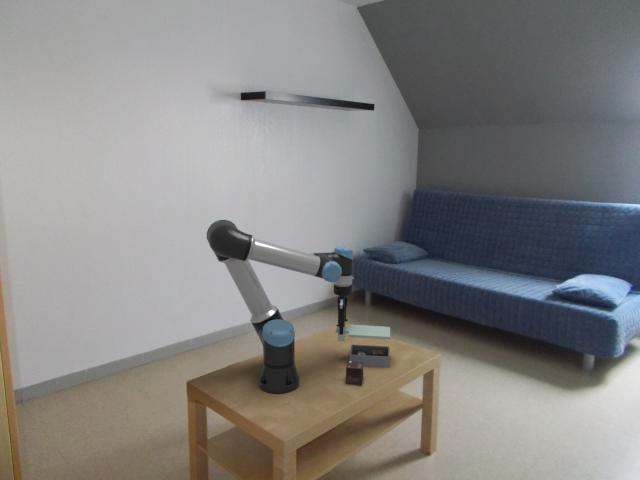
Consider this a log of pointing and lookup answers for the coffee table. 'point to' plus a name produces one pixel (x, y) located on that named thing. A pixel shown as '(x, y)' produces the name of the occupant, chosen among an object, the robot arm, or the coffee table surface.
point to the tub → (367, 358)
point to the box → (354, 373)
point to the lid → (367, 331)
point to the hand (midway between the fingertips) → (341, 338)
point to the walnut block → (376, 353)
